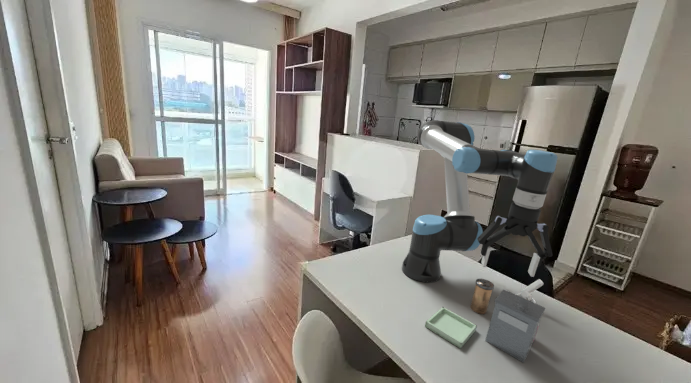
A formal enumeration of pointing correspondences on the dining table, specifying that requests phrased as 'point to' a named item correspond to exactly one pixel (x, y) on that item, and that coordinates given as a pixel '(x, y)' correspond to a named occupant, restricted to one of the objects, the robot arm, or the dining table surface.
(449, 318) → the tray
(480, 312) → the amber cylinder
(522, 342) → the box
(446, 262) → the dining table surface
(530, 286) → the hook
